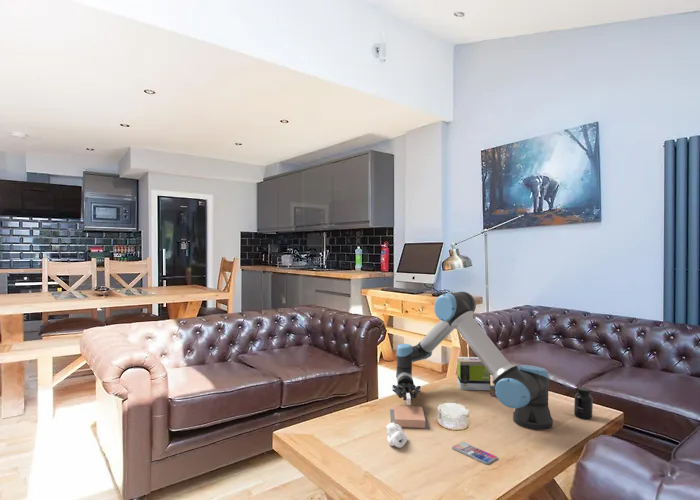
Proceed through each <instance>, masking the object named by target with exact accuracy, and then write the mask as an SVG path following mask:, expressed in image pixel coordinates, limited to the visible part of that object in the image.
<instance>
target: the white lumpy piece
mask: <svg viewBox="0 0 700 500" xmlns="http://www.w3.org/2000/svg"><path fill="white" fill-rule="evenodd" d="M385 428H386V435H387V442H388V445H390V446H392V447H393V446H394V447H396V448H399V449H401V448H403V447H404V446H405V445H406V443H407V442H408V436H407V434H406V433H405V431H404V430H403V428H401V426H400V425H398V424H395V423H394V422H393V423H391V422H390V423H388V424H387V425H385Z"/></svg>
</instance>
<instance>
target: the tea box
mask: <svg viewBox="0 0 700 500" xmlns="http://www.w3.org/2000/svg"><path fill="white" fill-rule="evenodd" d="M456 359H457V362H456V363H457V364H456V366H457V368H456V370H457V373H456V375H457V377H456V378H457V379H456V380H457V385H458V387H459V390H461V391H464V390H465V391H490V392H491V388H490V386H491V373H490V372H489V371H488V370H487V368H486V367H485V366H484V364H483V363H482V362H481V360H480V359H479V358H478V356H457V358H456Z"/></svg>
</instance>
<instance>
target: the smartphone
mask: <svg viewBox="0 0 700 500" xmlns="http://www.w3.org/2000/svg"><path fill="white" fill-rule="evenodd" d="M451 449H452V451H455V452H458V453H460V454H462V455H463V456H466V457H467V458H468V457H469V458H471V459H472V460H475V461H477V462H478V463H481V464H482V465H486V466H488V465H491V464H493V463H494V462H496V461H498V460H499V457H498V456H497V455H495V454H492V453H490V452H487V451H485V450H482V449H481V448H479V447H476V446H473V445H472V444H469V443H467V442H465V441H461V442H459V443H457V444H455V445H452V446H451Z"/></svg>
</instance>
